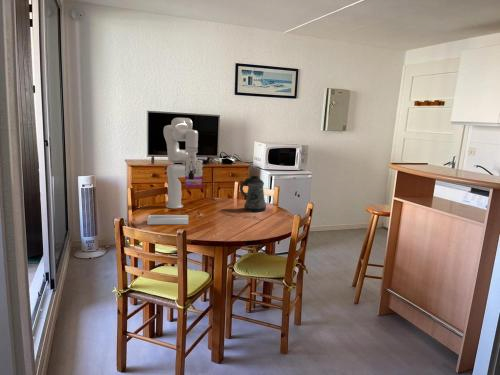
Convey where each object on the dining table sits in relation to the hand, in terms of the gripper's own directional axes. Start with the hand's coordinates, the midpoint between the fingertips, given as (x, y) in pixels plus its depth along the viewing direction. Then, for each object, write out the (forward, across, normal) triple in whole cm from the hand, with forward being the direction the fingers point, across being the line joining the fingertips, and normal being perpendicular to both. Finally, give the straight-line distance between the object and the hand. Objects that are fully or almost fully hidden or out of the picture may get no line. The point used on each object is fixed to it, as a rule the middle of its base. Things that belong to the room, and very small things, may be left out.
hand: (191, 178), depth 229 cm
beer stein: (+28, +29, -46) cm, 61 cm away
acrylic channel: (+27, -6, +14) cm, 31 cm away
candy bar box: (+5, 0, -2) cm, 5 cm away
